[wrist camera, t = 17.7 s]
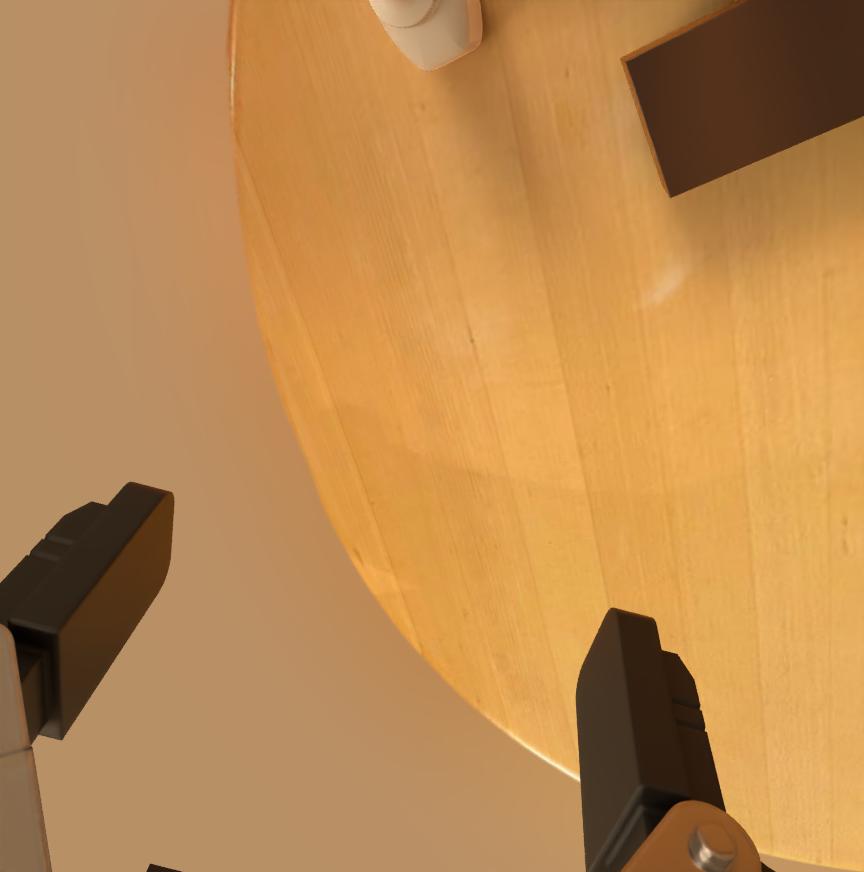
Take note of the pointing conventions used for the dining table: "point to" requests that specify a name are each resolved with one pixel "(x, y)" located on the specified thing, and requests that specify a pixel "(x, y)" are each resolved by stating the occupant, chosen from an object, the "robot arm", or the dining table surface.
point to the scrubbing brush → (747, 85)
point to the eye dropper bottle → (431, 29)
